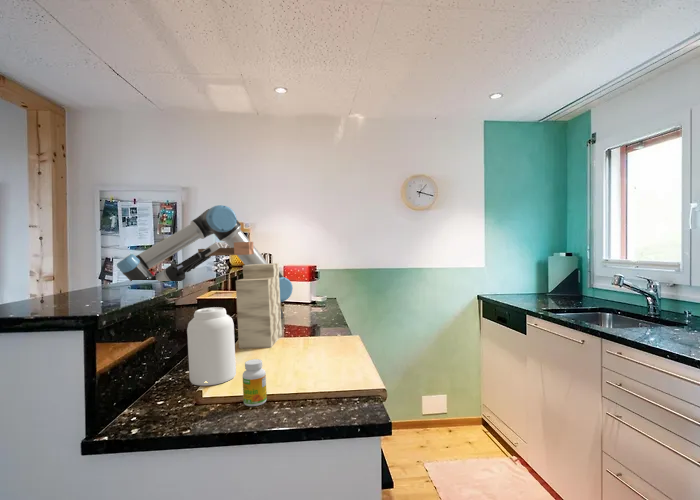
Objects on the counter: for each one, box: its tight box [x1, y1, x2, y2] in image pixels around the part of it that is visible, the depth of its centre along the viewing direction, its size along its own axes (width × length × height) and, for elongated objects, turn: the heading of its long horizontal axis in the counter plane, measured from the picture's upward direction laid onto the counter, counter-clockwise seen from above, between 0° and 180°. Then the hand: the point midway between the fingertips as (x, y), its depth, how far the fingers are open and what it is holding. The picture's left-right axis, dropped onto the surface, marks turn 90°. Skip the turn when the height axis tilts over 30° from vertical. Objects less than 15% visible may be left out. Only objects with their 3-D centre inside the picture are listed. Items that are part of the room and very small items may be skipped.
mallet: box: [197, 241, 254, 257], centre depth 151 cm, size 6×21×5 cm, turn 88°
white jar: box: [186, 306, 237, 387], centre depth 107 cm, size 12×12×20 cm
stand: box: [235, 262, 283, 349], centre depth 147 cm, size 18×12×30 cm, turn 178°
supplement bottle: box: [242, 358, 268, 407], centre depth 90 cm, size 5×5×10 cm
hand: (219, 245), depth 152 cm, fingers closed on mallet, 3 cm apart
